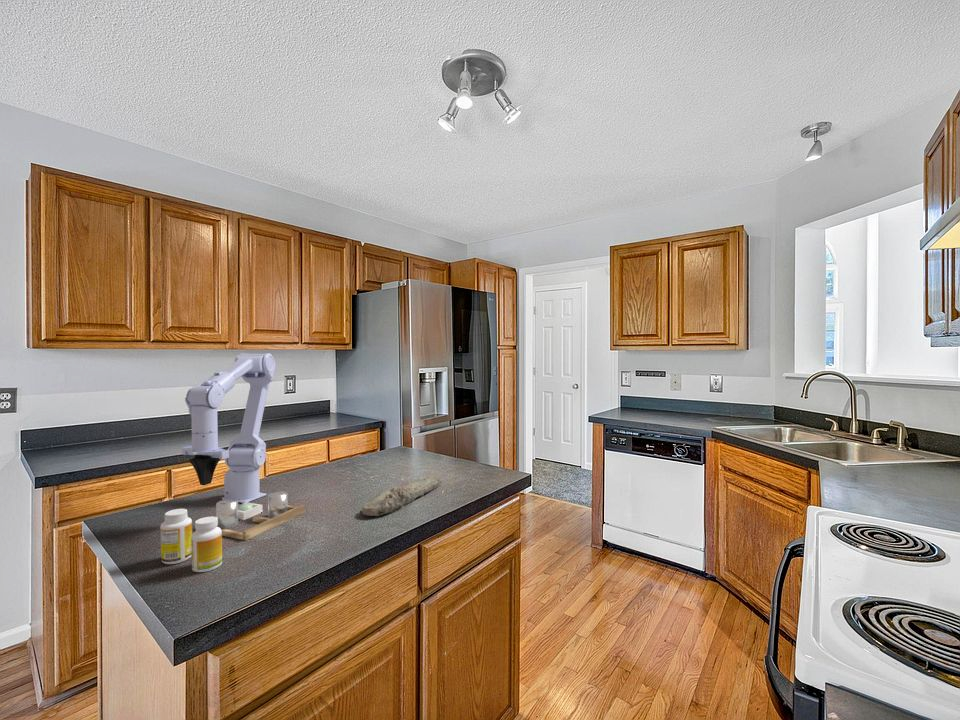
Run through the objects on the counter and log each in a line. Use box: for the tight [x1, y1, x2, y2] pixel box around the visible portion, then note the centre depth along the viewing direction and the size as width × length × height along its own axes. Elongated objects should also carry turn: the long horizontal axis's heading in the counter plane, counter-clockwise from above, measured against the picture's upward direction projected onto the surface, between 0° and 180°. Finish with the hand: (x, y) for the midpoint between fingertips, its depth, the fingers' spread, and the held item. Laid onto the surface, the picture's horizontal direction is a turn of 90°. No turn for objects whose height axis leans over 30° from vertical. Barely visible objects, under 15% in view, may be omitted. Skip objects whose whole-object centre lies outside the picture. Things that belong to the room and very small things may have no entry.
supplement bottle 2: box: [190, 516, 223, 573], centre depth 91 cm, size 5×5×10 cm
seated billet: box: [267, 490, 289, 518], centre depth 118 cm, size 5×5×6 cm
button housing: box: [238, 502, 264, 521], centre depth 119 cm, size 6×6×2 cm
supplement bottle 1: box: [159, 508, 193, 565], centre depth 94 cm, size 6×6×10 cm
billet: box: [215, 499, 239, 530], centre depth 112 cm, size 5×5×6 cm
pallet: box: [221, 504, 306, 541], centre depth 113 cm, size 8×19×2 cm, turn 159°
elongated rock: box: [361, 475, 442, 517], centre depth 132 cm, size 35×5×10 cm
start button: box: [238, 502, 253, 511], centre depth 119 cm, size 4×4×2 cm
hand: (205, 484), depth 114 cm, fingers closed
